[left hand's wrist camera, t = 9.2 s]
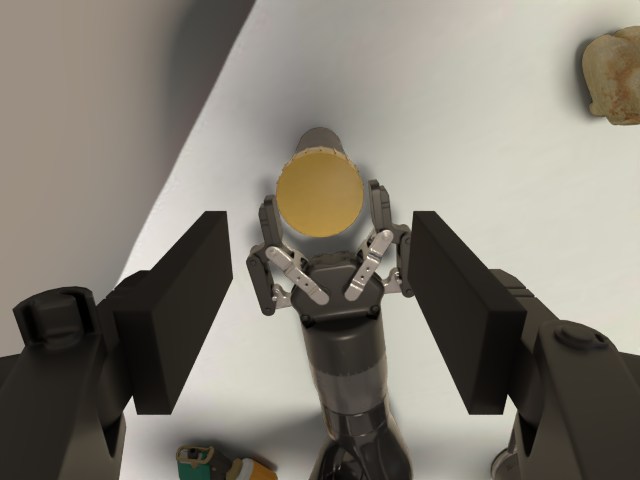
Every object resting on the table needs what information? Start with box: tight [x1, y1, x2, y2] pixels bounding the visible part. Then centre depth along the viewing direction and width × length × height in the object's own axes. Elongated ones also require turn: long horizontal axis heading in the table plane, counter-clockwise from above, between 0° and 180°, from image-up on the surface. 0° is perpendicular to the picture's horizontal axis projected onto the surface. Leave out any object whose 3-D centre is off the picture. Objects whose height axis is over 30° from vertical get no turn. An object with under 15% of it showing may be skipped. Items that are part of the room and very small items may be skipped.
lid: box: [276, 146, 364, 237], centre depth 21 cm, size 5×5×2 cm
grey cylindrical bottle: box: [295, 128, 345, 155], centre depth 28 cm, size 4×4×16 cm
